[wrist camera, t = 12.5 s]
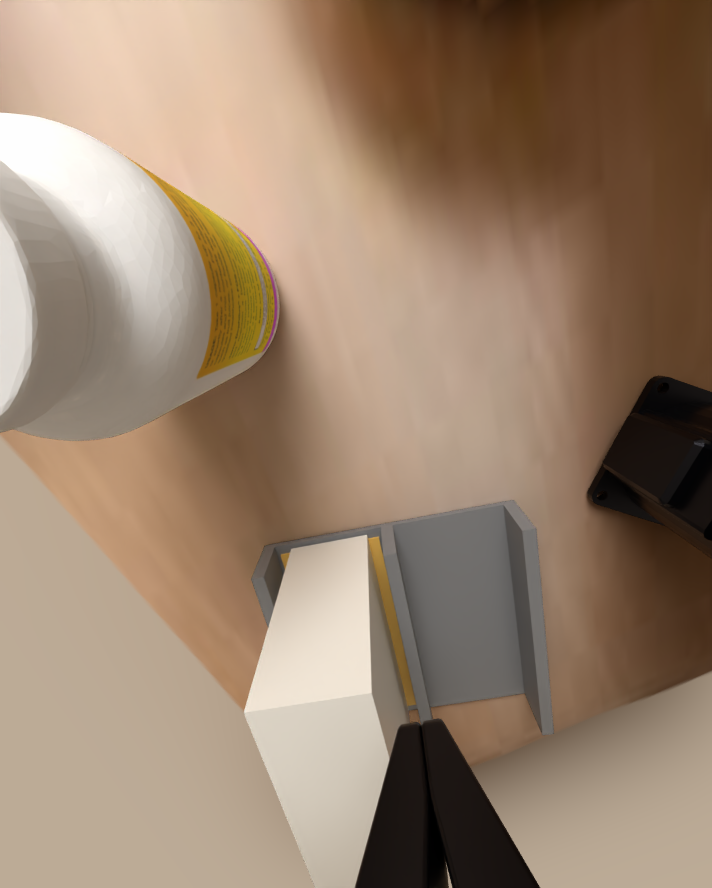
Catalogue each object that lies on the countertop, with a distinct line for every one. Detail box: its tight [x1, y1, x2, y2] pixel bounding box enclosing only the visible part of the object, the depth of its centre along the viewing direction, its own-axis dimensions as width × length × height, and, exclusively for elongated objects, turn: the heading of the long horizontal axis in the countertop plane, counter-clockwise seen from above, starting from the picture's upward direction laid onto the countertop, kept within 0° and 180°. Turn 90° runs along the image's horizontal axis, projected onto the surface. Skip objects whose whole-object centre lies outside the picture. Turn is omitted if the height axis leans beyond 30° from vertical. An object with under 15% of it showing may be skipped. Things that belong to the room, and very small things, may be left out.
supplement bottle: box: [0, 113, 280, 441], centre depth 12 cm, size 7×7×13 cm
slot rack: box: [251, 500, 554, 735], centre depth 21 cm, size 13×13×4 cm
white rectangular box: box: [244, 535, 410, 888], centre depth 18 cm, size 4×12×9 cm, turn 12°
